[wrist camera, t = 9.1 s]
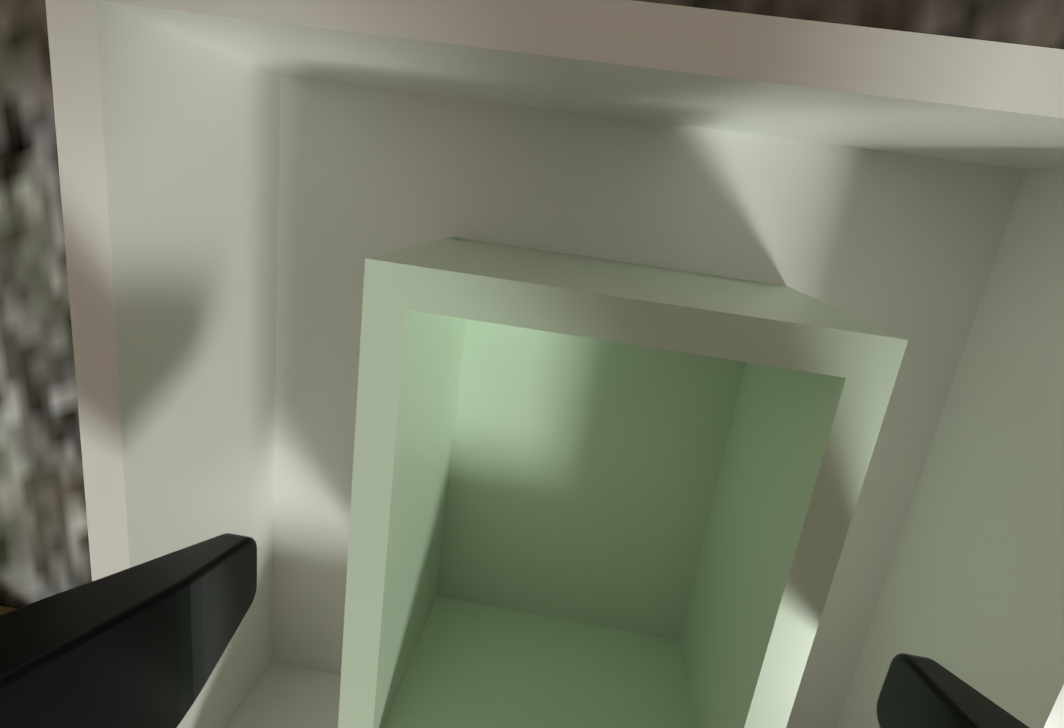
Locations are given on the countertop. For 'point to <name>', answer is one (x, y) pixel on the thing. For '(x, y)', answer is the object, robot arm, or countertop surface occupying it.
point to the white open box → (573, 228)
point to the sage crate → (596, 490)
